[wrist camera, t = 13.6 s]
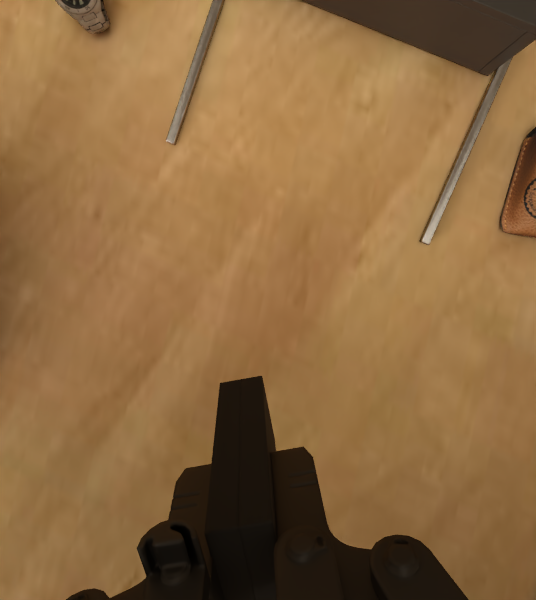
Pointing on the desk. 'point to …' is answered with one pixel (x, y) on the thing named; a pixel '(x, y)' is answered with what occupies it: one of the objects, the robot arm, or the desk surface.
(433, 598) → the robot arm
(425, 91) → the desk surface
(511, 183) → the sunglasses case
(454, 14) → the cover
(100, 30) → the wristwatch
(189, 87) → the rails
